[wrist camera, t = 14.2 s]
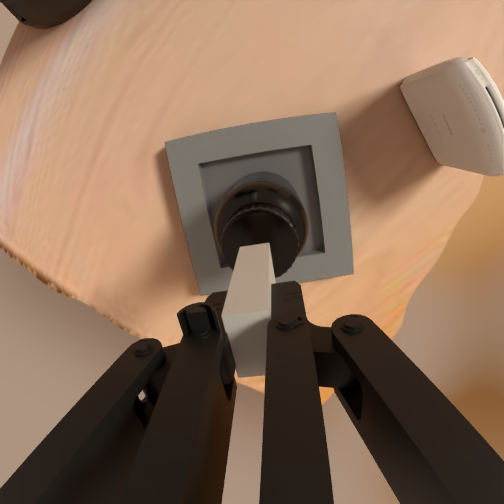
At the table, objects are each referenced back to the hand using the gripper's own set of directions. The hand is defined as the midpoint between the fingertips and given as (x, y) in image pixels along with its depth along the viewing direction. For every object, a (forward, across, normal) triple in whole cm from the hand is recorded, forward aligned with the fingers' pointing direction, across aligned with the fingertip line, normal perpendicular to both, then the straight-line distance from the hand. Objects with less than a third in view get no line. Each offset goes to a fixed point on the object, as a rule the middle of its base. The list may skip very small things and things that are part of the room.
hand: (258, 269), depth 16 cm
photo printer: (+16, +19, +7) cm, 26 cm away
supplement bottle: (+15, 0, 0) cm, 15 cm away
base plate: (+16, 0, 0) cm, 16 cm away
